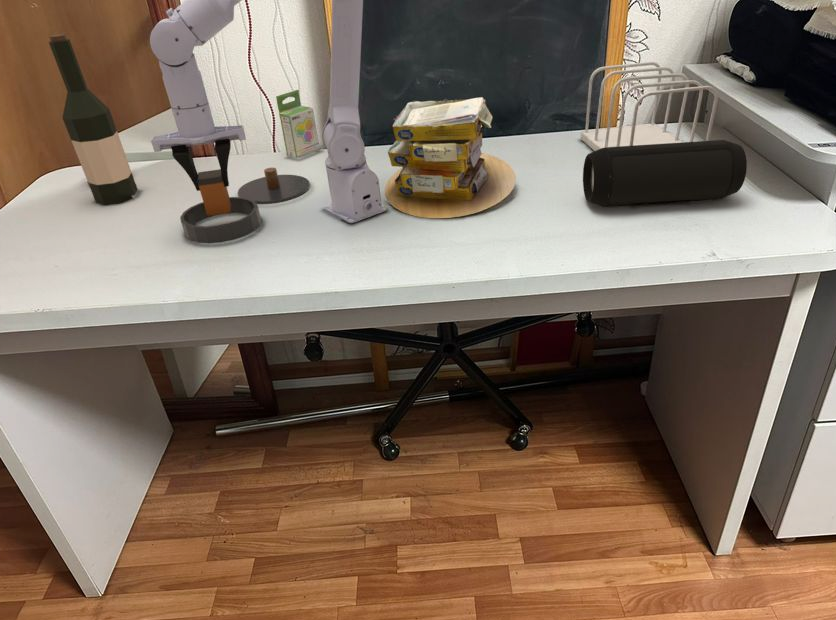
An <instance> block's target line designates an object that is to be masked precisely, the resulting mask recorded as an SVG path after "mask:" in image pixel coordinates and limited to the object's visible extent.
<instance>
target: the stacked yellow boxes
mask: <svg viewBox="0 0 836 620" xmlns="http://www.w3.org/2000/svg"><path fill="white" fill-rule="evenodd" d="M393 121H394V122H393V124H392V125H391V126H392V127H391V128H392V130H393V135H394V138H395V141H394V142H393V144H392V145H391V146H390V147H389V149H388V150H387V154H388V158H389V161H390V164H391V166H392V167H398V168H399V167H400V168H399V169H398V170H397V171H395V172H394V173H393V174H392V175H391V176H390V178H389V179H388V181H387V183H386V185H385V187H384V195H385V198H386V200H387V202H388V203H389V205H391V206H392V207H393V208H395V209H396V210H398V211H400V212H401V213H404V214H407V215H410V216H415V217H419V218H426V219H451V218H458V217H459V218H460V217H464V216H465V217H466V216H468V215H472V214H475V213H479V212H482V211H485V210H487V209H490V208H492V207H493V206H495V205H497V204H499V203H500V202H502V201H503V200H504V199H505V198H507V197H508V196H509V195H510V194H511V193H512V191H513V189H514V188H515V185H516V181H517V180H516V179H517V175H516V172H515V171H514V169H513V167H512V166H511V165H510V164H509V163H508V162H506V161H505V160H503V159H501V158H500V157H497V156H494V155H492V154H488V153H485V152H484V153H483V152H482V151H481V150H482V149H481V148H482V147H483V132H482V131H481V128H482V125H483V126H484V127H485V128H488V129H492V125H491V123H492V121H493V115H492V113H491V112H490V111H489V108H488V107H487V101H486V99H484V97H482V96H481V97H474V98H473V97H471V98H469V99H463V100H458V99H454V100H452V99H451V100H449V99H448V98H444V99H443V100H439V101H436V100H427V101H419V100H415V101H410V102H407V104H406V105H405V107H404V108H403V109H402V110H401V111H400V113H399V114H398V115H397V116H396V118H393Z"/></svg>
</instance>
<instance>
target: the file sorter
mask: <svg viewBox="0 0 836 620" xmlns="http://www.w3.org/2000/svg"><path fill="white" fill-rule="evenodd" d="M645 66H655V67H646V68H636V67H645ZM626 68H632V69H626ZM634 68H635V69H634ZM617 69H622V70H617ZM608 70H613V71H611V72H609V73H607V74H606V75H605V76H604V77H603V79H602V81H601V83H600V84H601V85H600V91H599V100H598V107H597V115H596V124H595V129H590V130H589V125H590V124H589V123H590V113H591V103H592V101H591V100H592V90H593V81H594V78H595V76H596V75H597V74H599V72H601V71H608ZM663 71H667V72H669V73H663ZM649 72H658V74H648V75H637V76H625V77H623V78H622V77H621V78H620V79H619V80H618V81H617V82H615V84H614V85H613V87H612V90H611V94H610V102H609V110H608V117H607V125H606V128H600V121H601V114H602V106H603V97H604V92H605V91H604V90H605V85H606V82H607V80H608V79H609V78H611V77H613V76H615V75H622V74H623V75H624V74H635V73H649ZM666 78H667V79H668V78H671V81H663V82H662V79H666ZM676 78H682V79H683V80H676ZM652 79H653V80H654V79H655V80H656V79H657V82H650V83H649V82H648V83H638V84H634V85H631V86H630V87H629V88H628V89H627V90H626V91H625V92H624V95H623V96H622V100H621V108H620V116H619V121H618V122H619V123H618V126H615V127H611V124H612V118H613V117H612V115H613V110H614V109H613V108H614V102H615V95H616V90H617V88H618V87H619V85H621V84H622V83H624V82H628V81H629V82H630V81H639V80H641V81H643V80H652ZM679 85H680V86H681V85H685V87H681V88H680V87H679V88H675V86H679ZM690 85H696V86H692V87H690ZM667 86H670V89H663V90H660V87H667ZM654 87H656V90H653V91H648V92H645V93H643V94H642V95H640V97H638V99H637V101H636V102H635V104H634V110H633V116H632V122H631V125H624V126H623V124H624V116H625V108H626V101H627V98H628V95H629V94H630V93H631V92H632V91H633V90H636V89H641V88H654ZM704 90H705V91H706V90H709V91H711V93H712V94H713V104H712V109H711V113H710V119H709V124H708V128H707V132H706V136H705V141H711V136H712V131H713V125H714V120H715V116H716V110H717V107H718V101H719V94H718V91H717V89H716V88H715V87H713V86H711V85H702V84H701V82H700V81H697V80H694V79H690V80H689V78H688V77H687V76H686V75H685V74H683V73H680V72H679V73H678V72H677V73H675V72H674V70H673V69H672V68H670V67H668V66H661V65H660V64H659V63H657V62H655V61H645V62H636V63H626V64H615V65H606V66H601V67H598V68H596V69H595V70H594V71H593V72H592V74H591V75H590V77H589V83H588V93H587V104H586V115H585V116H586V117H585V128H584V130H582V131H581V132H580V140H581V141H583V142H584V143H585V144H586V145H587V146H588V147H589V148H590V149H592V150H593V152H594V151H596V150H598V149H601V148H605V147H619V146H635V145H650V144H666V143H682V142H684V141H683V140H681V139H680V138H679V137H680V133H681V128H682V123H683V119H684V114H685V109H686V104H687V99H688V94H689V92H695V91H699V93H698V99H697V103H696V105H697V106H696V108H695V114H694V118H693V122H692V128H691V131H690V132H691V133H690V137H689V142H694V139H695V133H696V130H697V124H698V119H699V115H700V111H701V105H702V100H703V95H704ZM675 93H676V94H677V93H684V94H683V99H682V103H681V108H680V114H679V118H678V123H677V129H676V134H675V135H674V134H672V133H671V132H670V131H668V130H667V128H668V122H669V116H670V110H671V105H672V99H673V95H674V94H675ZM667 94H668V100H667V106H666V111H665V117H664V122H663V127H662V126H660V125H658V124H657V123H656V122H655V121H656V115H657V109H658V103H659V102H658V101H659V95H667ZM649 96H654V102H653V103H654V104H653V111H652V117H651V122H649V123H640V124H637V117H638V112H639V106H640V104H641V103H642V101H644V99H646V98H647V97H649Z"/></svg>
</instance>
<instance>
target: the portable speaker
mask: <svg viewBox="0 0 836 620" xmlns="http://www.w3.org/2000/svg"><path fill="white" fill-rule="evenodd" d="M747 166H748V161H747V155H746V151H745V149H744V147H742V145H740V144H738V143H735V142H732V141H729V140H726V139H715V140H709V141H706V140H701V141H700V140H699V141H698V140H697V141H693V142H690V141H683V142H682V143H666V144H650V145H635V146H619V147H605V148H601V149H598V150H596V151H594V150H593V151H592V152H590V153H588V154H587V155H586V156H585V159H584V162H583V167H582V168H583V169H582V188H583V194H584V198H585V201H586V202H587V203H590V204H593V205H596V206H600V207H602V208H614V207H615V208H616V207H630V206H631V207H633V206H646V205H647V206H649V205H663V204H679V203H694V202H707V201H716V200H723V199H725V198H726V197H729V196H731V195H734V194H737V193H738V192H739V191H740V190H741V188H743V185H744V183H745V180H746V176H747V168H748V167H747Z"/></svg>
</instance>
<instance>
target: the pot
mask: <svg viewBox="0 0 836 620" xmlns="http://www.w3.org/2000/svg"><path fill="white" fill-rule="evenodd" d="M229 198H230V202H231V212H229V213H228V214H247V215H246V216H244V217H242V218H240V219H237V220H235V221H232V222H229V223H224V224H219V225H207V226H206V225H205V226H204V225H196V224H197V223H199V222H201V221H203V220H205V219H209V218H211V217H212V218H213V217H215V216H219V215H221V214H216V215H210V216H207V213H206V209H205V206H204V203H203V201H202V202H199V203H196V204H194V205H192V206H189V208H187V209H186V210H184V211H183V212H182V213H181V215H180V219H179V220H180V223H181V226H182V230H183V233H184V236H185V238H187V240H189V241H192V242H195V243H199V244H218V243H225V242H230V241H236V240H238V239H240V238H243V237H246V236H248V235H250V234H252V233H254V232H255V231H256V230H257V229H258V228H260V226H261V223H262V217H261V214H260V209H259V205H258V204H257V203H256V202H255V201H253V200H251V199H247V198H243V197H239V196H229ZM224 214H226V213H223V214H222V215H224Z"/></svg>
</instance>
